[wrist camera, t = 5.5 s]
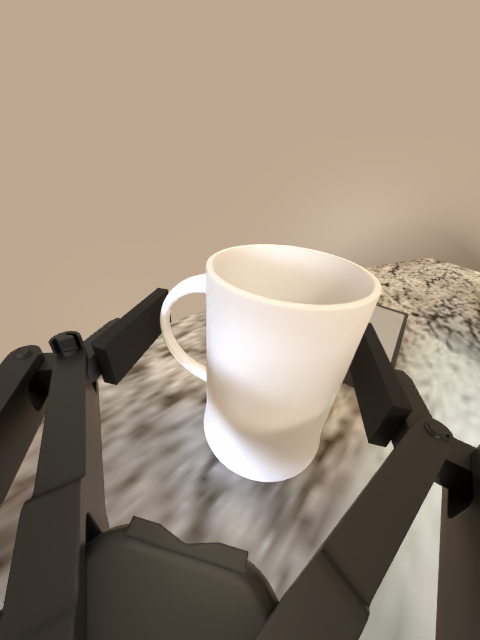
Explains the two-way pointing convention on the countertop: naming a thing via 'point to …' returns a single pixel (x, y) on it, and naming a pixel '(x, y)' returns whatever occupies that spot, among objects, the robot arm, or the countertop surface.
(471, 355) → the countertop surface
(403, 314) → the scale
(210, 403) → the mug
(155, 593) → the robot arm
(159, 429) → the countertop surface
